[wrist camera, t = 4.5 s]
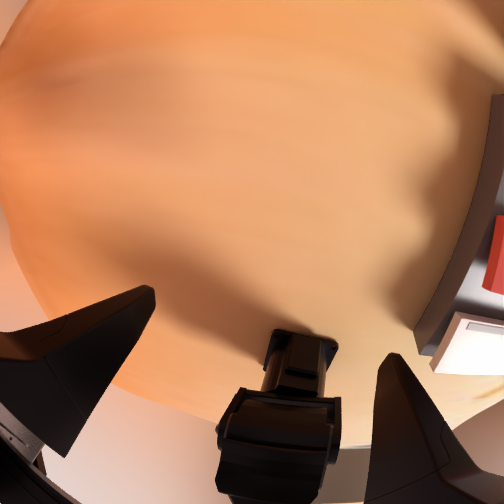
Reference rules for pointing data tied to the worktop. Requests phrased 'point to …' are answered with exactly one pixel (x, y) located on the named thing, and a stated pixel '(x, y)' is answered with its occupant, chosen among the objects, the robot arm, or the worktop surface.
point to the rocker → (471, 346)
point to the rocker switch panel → (471, 248)
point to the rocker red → (496, 260)
